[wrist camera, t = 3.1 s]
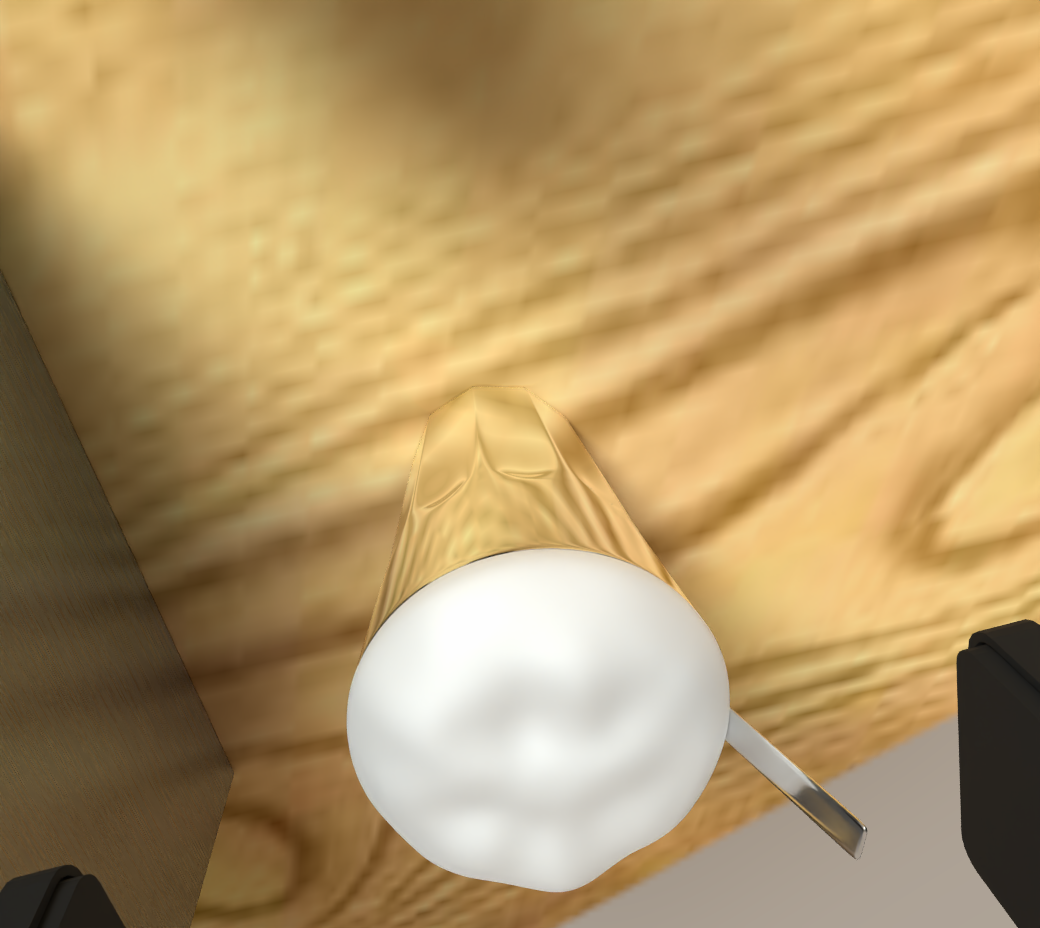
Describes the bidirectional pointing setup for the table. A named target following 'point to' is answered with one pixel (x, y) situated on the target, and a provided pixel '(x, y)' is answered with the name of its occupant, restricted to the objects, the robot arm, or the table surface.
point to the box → (90, 677)
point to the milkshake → (539, 665)
